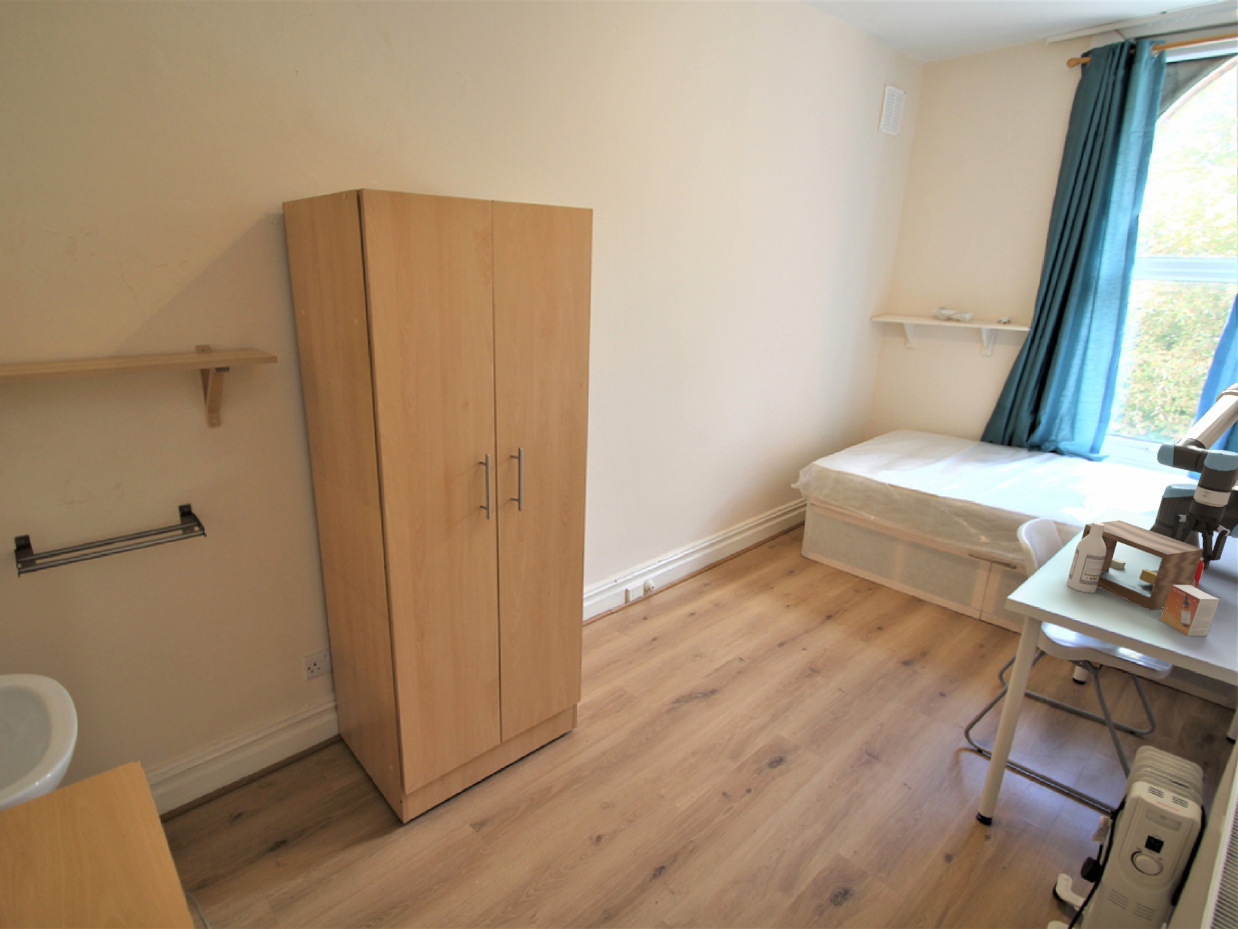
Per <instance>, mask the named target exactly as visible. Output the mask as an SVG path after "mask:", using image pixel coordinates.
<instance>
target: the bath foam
mask: <svg viewBox="0 0 1238 929" xmlns="http://www.w3.org/2000/svg"><path fill="white" fill-rule="evenodd" d="M1091 524H1092V525H1091V529H1090V533H1089V534H1088V535H1087V536H1086V537H1084V538H1083V539H1082V538H1081V539H1082V540H1081V539H1080V541H1078V543H1077V545H1076V547H1075V551H1074V555H1073V558H1072V562H1071V566H1070V569H1069V572H1068V573H1069V574H1068V577H1067V581H1066V584H1067V586H1068V587H1069V588H1071V589H1073V590H1075V591H1078V592H1082V593H1087V594H1090V593H1094V592H1096V590H1097V588H1098V587H1097V584H1098V581H1099V577H1100V576H1101V574H1102V572H1101V570H1102V567H1103V563H1104V560H1105V556H1106V546H1105V543H1104V541H1103V539H1102V534H1103V530H1104V527H1105V525H1104V524H1103V523H1101V522H1100V521H1099V522H1098V521H1092V522H1091Z"/></svg>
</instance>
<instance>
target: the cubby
mask: <svg viewBox="0 0 1238 929" xmlns="http://www.w3.org/2000/svg"><path fill="white" fill-rule="evenodd" d="M1100 523H1103V524H1104V525H1105V527H1104V530H1103V534H1102V539H1103V541H1104V543H1105V546H1106V556H1105V560H1104V563H1103V567H1102V570H1101V573H1107V572H1110V569H1111V566H1110V565H1111V562H1112V558H1114V554H1115V551H1116V547H1117V543H1121V544H1123V545H1126V546H1129V547H1131V548H1133V549H1136V550H1139V551H1142V552H1145V553H1147V554H1150V555H1153V556H1155V557H1158V558H1161V561H1160V564H1159V567H1158V569H1157V570H1158V573H1157V576H1156V579H1155V583H1154V585H1153V586H1152V589H1151V592H1150V596H1147V595H1146V594H1143V593H1141V592H1140V591H1139V592H1138V591H1137V590H1134V589H1131V588H1130V587H1127V586H1125V585H1122V584H1120V583H1118V582H1116V581H1113V580H1111V579H1109V578H1107V577H1103V576H1101V575H1100V577H1099V581H1098V584H1097V587H1096V588H1099V589H1102V590H1104V591H1107V592H1108V593H1110V594H1113V595H1115V596H1118V597H1119V598H1122V599H1124V600H1126V601H1128V602H1131V603H1133V604H1136V605H1137V606H1139V607H1143V608H1145V609H1146V610H1148V611H1152V610H1159V609H1164V607H1165V604H1166V601H1167V598H1168V595H1169V592H1170V589H1171V587H1172V585H1192V582H1193V579H1194V576H1195V573H1196V570H1197V567H1198V564H1199V561H1200V558H1201V555H1202V552H1203V548H1201V547H1200V548H1199V547H1196V546H1193V545H1190V544H1187V543H1184V542H1181V541H1178V540H1175V539H1172V538H1169V537H1167V536H1164V535H1161V534H1158V533H1155V532H1152V531H1149V530H1150V529H1149V530H1148V529H1145V528H1143V527H1140V526H1138V525H1134V524H1132V523H1128V522H1126V521H1122V520H1113V521H1111V520H1110V521H1104V522H1103V521H1102V522H1100ZM1091 525H1092V523H1086V524H1084V528H1083V532H1082V536H1081V539H1080V541H1081V540H1082V539H1083V538H1084V537H1086V536H1087V535H1088V534H1089V533H1090V529H1091Z"/></svg>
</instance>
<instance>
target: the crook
mask: <svg viewBox="0 0 1238 929" xmlns="http://www.w3.org/2000/svg"><path fill="white" fill-rule="evenodd" d="M1202 555H1203V552H1202ZM1202 555H1201V557H1202ZM1158 570H1159V569H1156V570H1149V569H1142V570H1141V573H1140V576H1139V578H1138V579H1139V580H1140V581H1143V582H1145V583H1148V584H1150V585H1153V586H1154V583H1155V579H1156V576H1157V573H1158Z"/></svg>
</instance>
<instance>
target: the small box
mask: <svg viewBox="0 0 1238 929" xmlns="http://www.w3.org/2000/svg"><path fill="white" fill-rule="evenodd" d="M1219 603H1220V599H1219V598H1217V597H1215V596H1213V595H1211V594H1209V593H1206V592H1205V591H1202V590H1201V589H1199V588H1198V587H1197V588H1195V587H1193V586H1192V585H1172V587H1171V589H1170V592H1169V595H1168V598H1167V601H1166V604H1165V607H1164V608H1163V610H1162V613H1161V616H1160V618H1159V620H1160V621H1162V622H1164V623H1165V624H1167V625H1168V626H1170V627H1172V628H1174V629H1175V630H1177V632H1180V633H1182V634H1183V635H1184V636H1187V637H1206V636H1207V635H1208V633H1209V630H1210V629H1211V628H1210V627H1211V626H1212V622H1213V620H1214V616H1215V614H1216V611H1217V609H1218V605H1219Z"/></svg>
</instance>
